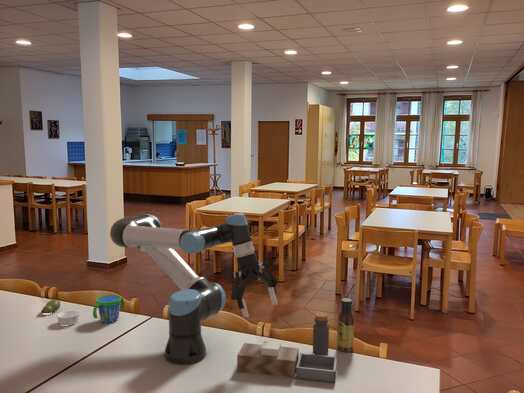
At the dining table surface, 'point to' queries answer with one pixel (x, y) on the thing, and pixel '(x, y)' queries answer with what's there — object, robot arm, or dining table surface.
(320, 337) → the bottle
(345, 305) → the sauce bottle
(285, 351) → the brown wooden block
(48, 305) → the pear
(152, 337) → the dining table surface
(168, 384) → the dining table surface
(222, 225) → the robot arm
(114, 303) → the snack cup
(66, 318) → the ramekin
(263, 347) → the tile
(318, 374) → the box
